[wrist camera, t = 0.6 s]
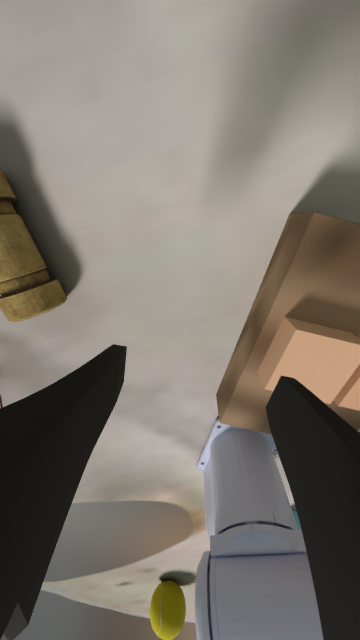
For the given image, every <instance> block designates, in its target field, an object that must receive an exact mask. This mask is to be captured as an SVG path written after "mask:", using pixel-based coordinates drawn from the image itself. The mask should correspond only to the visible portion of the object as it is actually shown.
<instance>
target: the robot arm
mask: <svg viewBox="0 0 360 640" xmlns="http://www.w3.org/2000/svg"><path fill="white" fill-rule="evenodd" d="M126 349H127V347H125V346H120V345H114V344H113V345H112V346H110V347H109V348H107V349H106V350H104V351H103V352H102V353H100V354H99V355H97V356H96V357H94V358H93V359H92V360H90V361H89V362H87V363H86V364H84V365H83V366H81V367H80V368H78V369H76V370H75V371H73V372H72V373H70V374H68V375H67V376H65V377H63V378H62V379H60V380H58V381H57V382H55V383H53V384H51V385H49V386H48V387H46V388H44V389H42V390H40V391H38V392H36V393H34V394H32V395H30V396H28V397H26V398H24V399H21V400H19V401H17V402H15V403H12V404H10V405H8V406H5V407H3V408H1V409H0V640H13V639H15V638H16V637H17V636H18V635H19V634H20V633H21V632H22V631H23V630H24V629H25V628H26V627H27V626H28V624H29V621H30V618H31V615H32V612H33V609H34V606H35V603H36V601H37V598H38V595H39V592H40V589H41V586H42V583H43V581H44V578H45V575H46V572H47V569H48V566H49V563H50V560H51V558H52V555H53V552H54V550H55V547H56V544H57V541H58V538H59V535H60V533H61V530H62V527H63V525H64V522H65V519H66V517H67V514H68V511H69V509H70V506H71V503H72V501H73V498H74V495H75V493H76V490H77V488H78V485H79V482H80V480H81V477H82V475H83V472H84V470H85V467H86V464H87V462H88V460H89V457H90V455H91V453H92V451H93V449H94V447H95V445H96V442H97V440H98V438H99V436H100V434H101V432H102V430H103V428H104V426H105V424H106V422H107V420H108V418H109V416H110V414H111V412H112V410H113V408H114V406H115V404H116V402H117V399H118V396H119V394H120V391H121V388H122V385H123V382H124V372H125V361H126ZM266 413H267V418H268V423H269V427H270V431H271V434H267V433H263V432H258V431H254V430H249V429H244V428H240V427H235V426H231V425H226V424H222V423H220V421H219V419H217V420H216V421H215V424H214V426H213V428H212V431H211V433H210V435H209V437H208V440H207V442H206V444H205V447H204V449H203V451H202V453H201V456H200V458H199V460H198V463H197V469H198V470H201V471H204V492H205V521H206V529H207V534H208V537H209V540H210V548H211V551H205V552H204V553H203V556H202V559H201V560H200V562H199V564H198V568H197V573H196V584H195V620H196V634H197V640H360V432H358V431H357V430H356V429H355V428H353V427H352V426H351V425H350V424H348V423H347V422H346V421H345V420H344V419H342V418H341V417H340V416H339V415H338V414H336V413H335V412H334V411H333V410H332V409H331V408H329V407H328V406H327V405H326V404H325V403H324V402H323V401H321V400H320V399H319V398H318V397H317V396H316V395H314V394H313V393H312V392H311V391H310V390H309V389H307V388H306V387H305V386H304V385H303V384H301V383H300V382H299V381H297V380H296V379H295V378H292V377H286V376H281V377H280V379H279V381H278V383H277V385H276V387H275V389H274V391H273V393H272V395H271V397H270V399H269V401H268V403H267V405H266ZM218 425H220V426H218ZM276 448H277V451H278V454H279V457H280V460H281V463H282V465H283V468H284V471H285V474H286V477H287V480H288V482H289V485H290V489H291V492H292V495H293V498H294V502H295V506H296V510H297V514H298V518H299V522H300V526H301V530H298V527H297V524H296V521H295V518H294V515H293V512H292V509H291V506H290V503H289V500H288V497H287V494H286V491H285V488H284V485H283V482H282V479H281V476H280V473H279V470H278V467H277V464H276V461H275V458H274V455H273V453H274V451H275V450H276Z"/></svg>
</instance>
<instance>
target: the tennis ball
mask: <svg viewBox="0 0 360 640" xmlns="http://www.w3.org/2000/svg"><path fill="white" fill-rule="evenodd" d="M185 612H186V605H185V598H184V594H183V591H182V589H181V588H180V586H179V585H178V584H177V583H176V582H174V581H170V580H168V581H164V582H162V583H161V584H159V585H158V587H157V588H156V590H155V591H154V594H153V596H152V600H151V606H150V619H151V625H152V627H153V630H154V631H155V633H156V635H157V636H158V637H160V638H162V639H165V640H171V639H174V638H175V637H176V636H177V635H178V634H179V633H180V631H181V629H182V627H183V623H184V620H185Z"/></svg>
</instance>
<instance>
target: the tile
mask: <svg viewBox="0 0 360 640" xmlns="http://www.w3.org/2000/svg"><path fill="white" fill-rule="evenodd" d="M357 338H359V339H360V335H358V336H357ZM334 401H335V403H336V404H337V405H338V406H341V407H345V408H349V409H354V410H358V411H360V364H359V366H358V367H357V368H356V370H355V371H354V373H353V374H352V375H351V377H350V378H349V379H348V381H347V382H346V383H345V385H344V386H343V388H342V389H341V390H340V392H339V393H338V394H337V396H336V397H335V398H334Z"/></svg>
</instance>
